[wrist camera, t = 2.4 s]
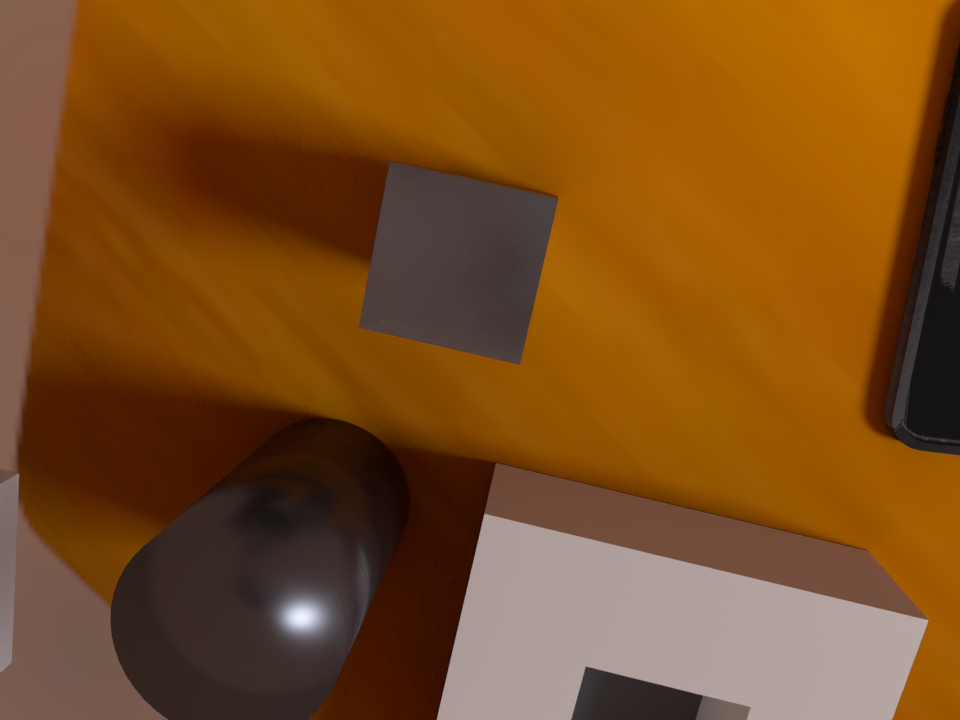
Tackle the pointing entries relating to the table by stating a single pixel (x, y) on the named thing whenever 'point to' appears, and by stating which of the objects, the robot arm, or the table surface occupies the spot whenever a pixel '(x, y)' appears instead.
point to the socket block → (668, 615)
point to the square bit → (457, 261)
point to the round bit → (263, 579)
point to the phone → (933, 310)
